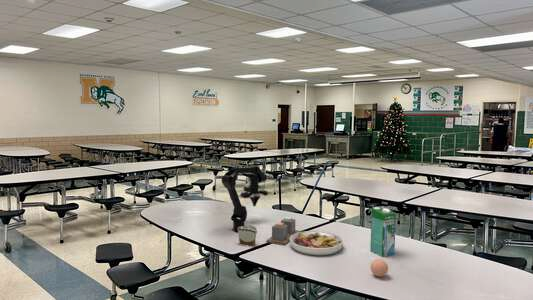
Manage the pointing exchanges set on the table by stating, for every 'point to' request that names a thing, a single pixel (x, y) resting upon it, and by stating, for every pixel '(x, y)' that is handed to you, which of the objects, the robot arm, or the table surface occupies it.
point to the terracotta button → (279, 224)
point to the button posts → (283, 230)
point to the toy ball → (379, 268)
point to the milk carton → (382, 231)
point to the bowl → (316, 242)
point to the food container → (247, 235)
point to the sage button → (288, 219)
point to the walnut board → (282, 241)
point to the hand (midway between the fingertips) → (254, 206)
